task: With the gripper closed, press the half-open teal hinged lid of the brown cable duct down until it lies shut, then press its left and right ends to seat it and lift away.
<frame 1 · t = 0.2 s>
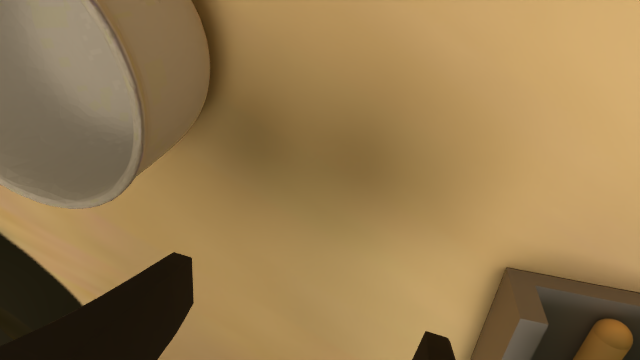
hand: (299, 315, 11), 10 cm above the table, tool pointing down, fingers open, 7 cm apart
teacup: (119, 38, 20), on the table
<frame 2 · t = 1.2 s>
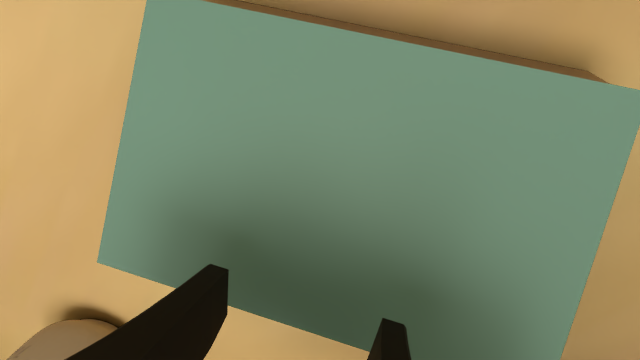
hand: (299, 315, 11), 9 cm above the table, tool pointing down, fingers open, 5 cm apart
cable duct: (361, 138, 18), on the table
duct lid: (337, 187, 12), point 6 cm above the table, hinge at 25.0°
teacup: (115, 351, 34), on the table
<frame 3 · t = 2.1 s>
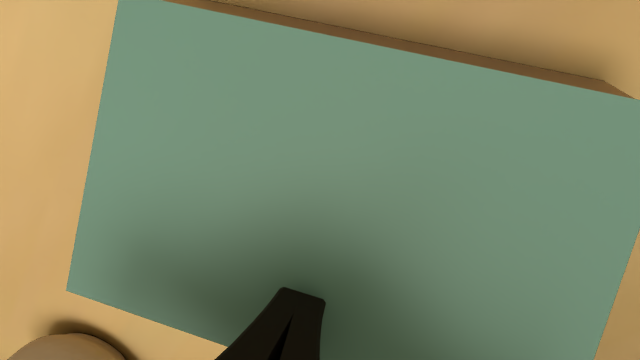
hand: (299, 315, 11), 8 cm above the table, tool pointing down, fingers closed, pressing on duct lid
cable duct: (357, 150, 17), on the table
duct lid: (328, 211, 11), point 6 cm above the table, hinge at 24.8°, touching gripper
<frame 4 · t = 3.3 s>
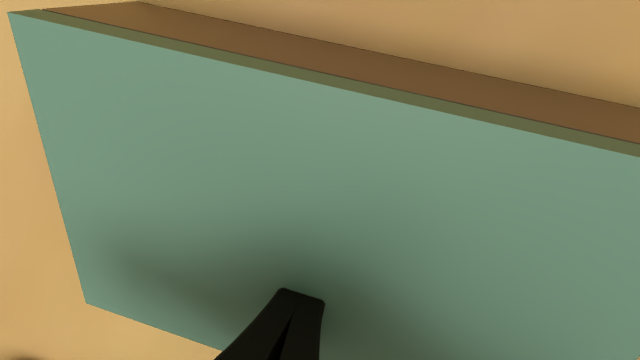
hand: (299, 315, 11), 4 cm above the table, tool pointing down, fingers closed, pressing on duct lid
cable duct: (341, 190, 14), on the table
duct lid: (313, 259, 10), point 4 cm above the table, hinge at -0.6°, touching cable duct, gripper
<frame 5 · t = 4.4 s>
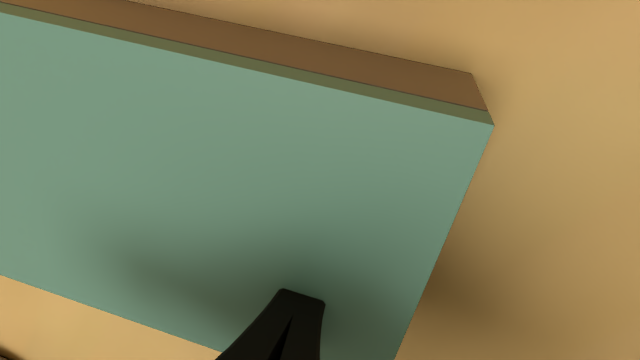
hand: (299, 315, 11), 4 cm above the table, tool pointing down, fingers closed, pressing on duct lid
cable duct: (216, 157, 14), on the table
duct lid: (151, 212, 11), point 4 cm above the table, hinge at -0.5°, touching gripper
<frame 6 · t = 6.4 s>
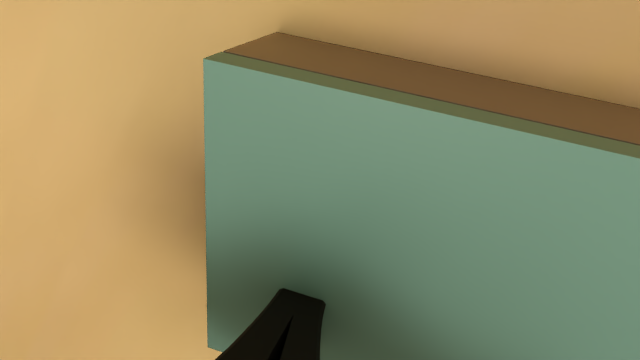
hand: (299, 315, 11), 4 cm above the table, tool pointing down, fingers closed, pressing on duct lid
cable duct: (477, 227, 13), on the table
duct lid: (495, 315, 10), point 4 cm above the table, hinge at -0.5°, touching gripper
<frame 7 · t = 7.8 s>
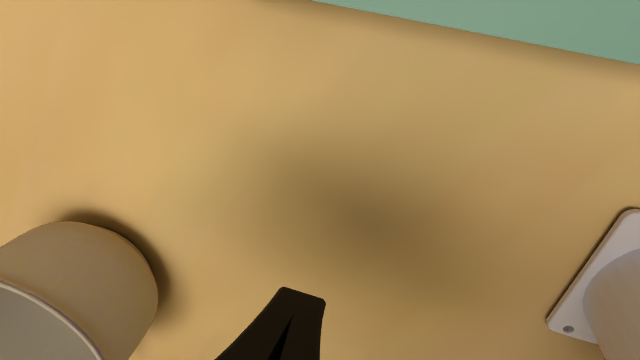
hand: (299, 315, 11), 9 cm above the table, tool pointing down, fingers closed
teacup: (118, 274, 29), on the table
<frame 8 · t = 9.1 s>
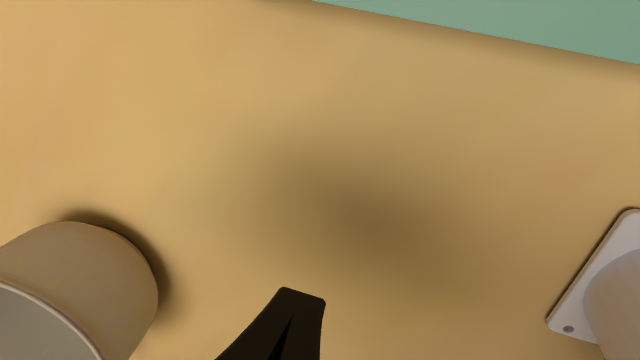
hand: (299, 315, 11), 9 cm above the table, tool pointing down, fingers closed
teacup: (118, 274, 29), on the table
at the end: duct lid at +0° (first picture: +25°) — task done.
